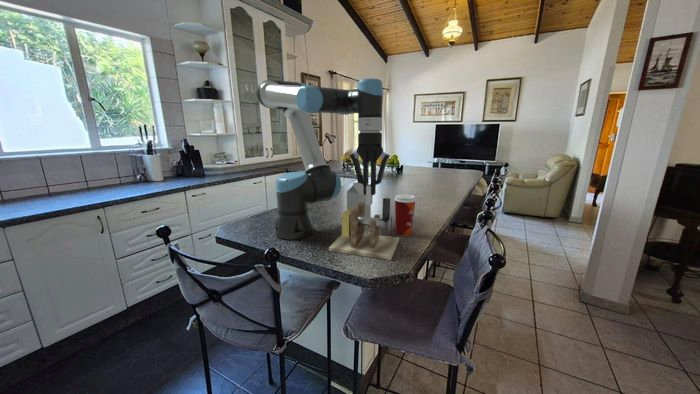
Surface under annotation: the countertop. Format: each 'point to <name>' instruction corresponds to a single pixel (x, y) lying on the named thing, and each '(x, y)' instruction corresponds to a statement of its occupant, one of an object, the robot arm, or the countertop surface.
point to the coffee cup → (404, 213)
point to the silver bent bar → (380, 222)
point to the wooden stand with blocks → (365, 239)
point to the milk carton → (357, 198)
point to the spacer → (346, 223)
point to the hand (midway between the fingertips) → (369, 204)
